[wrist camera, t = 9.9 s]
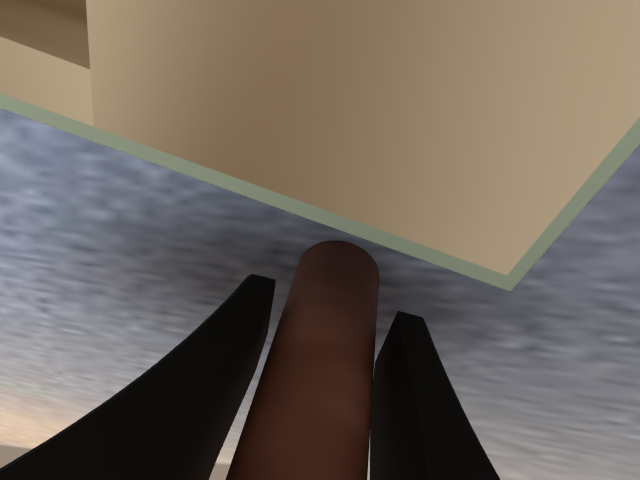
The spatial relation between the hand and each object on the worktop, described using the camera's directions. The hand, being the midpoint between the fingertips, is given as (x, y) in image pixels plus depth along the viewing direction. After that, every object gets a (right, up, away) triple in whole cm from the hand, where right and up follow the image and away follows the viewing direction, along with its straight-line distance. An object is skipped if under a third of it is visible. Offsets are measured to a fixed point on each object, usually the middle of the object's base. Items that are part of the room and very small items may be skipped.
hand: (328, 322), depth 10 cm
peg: (0, +1, +2) cm, 2 cm away
